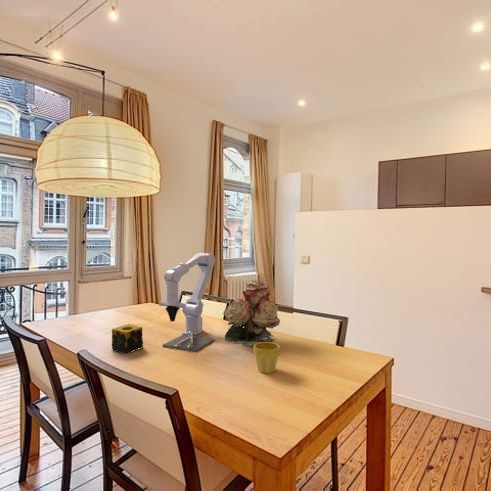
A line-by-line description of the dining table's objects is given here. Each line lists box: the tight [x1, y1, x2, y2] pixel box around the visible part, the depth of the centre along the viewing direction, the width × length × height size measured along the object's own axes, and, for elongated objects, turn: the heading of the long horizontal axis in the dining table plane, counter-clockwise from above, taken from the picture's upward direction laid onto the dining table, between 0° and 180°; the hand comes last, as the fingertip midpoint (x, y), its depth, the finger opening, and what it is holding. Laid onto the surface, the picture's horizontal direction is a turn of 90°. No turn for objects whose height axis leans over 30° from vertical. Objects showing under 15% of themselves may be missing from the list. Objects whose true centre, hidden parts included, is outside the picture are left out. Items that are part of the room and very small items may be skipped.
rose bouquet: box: [223, 280, 281, 347], centre depth 178 cm, size 26×29×30 cm
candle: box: [111, 323, 144, 354], centre depth 164 cm, size 10×10×10 cm
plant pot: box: [253, 342, 281, 374], centre depth 140 cm, size 10×10×10 cm
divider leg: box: [187, 331, 195, 345], centre depth 172 cm, size 14×3×3 cm, turn 10°
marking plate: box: [162, 334, 215, 353], centre depth 172 cm, size 18×18×2 cm
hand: (172, 321), depth 177 cm, fingers closed
